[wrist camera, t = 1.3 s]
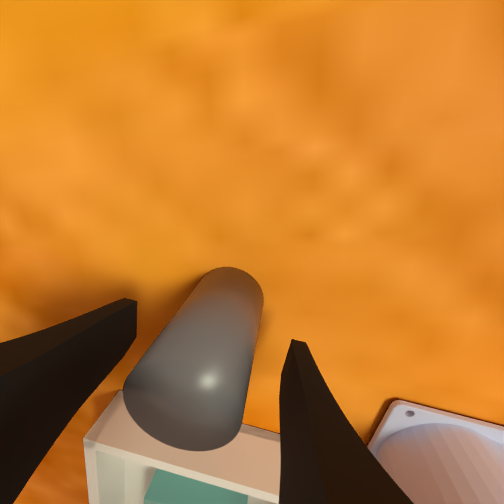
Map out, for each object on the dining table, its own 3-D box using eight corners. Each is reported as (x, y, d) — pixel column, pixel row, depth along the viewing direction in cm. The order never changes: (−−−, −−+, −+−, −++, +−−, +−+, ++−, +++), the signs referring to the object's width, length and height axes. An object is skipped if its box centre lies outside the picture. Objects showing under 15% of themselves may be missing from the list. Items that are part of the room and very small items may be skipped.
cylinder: (270, 275, 14) (253, 378, 7) (256, 333, 15) (231, 463, 8) (200, 259, 14) (122, 344, 7) (193, 318, 15) (122, 432, 9)
